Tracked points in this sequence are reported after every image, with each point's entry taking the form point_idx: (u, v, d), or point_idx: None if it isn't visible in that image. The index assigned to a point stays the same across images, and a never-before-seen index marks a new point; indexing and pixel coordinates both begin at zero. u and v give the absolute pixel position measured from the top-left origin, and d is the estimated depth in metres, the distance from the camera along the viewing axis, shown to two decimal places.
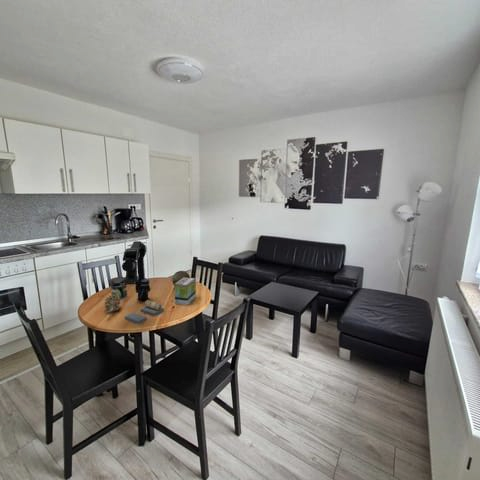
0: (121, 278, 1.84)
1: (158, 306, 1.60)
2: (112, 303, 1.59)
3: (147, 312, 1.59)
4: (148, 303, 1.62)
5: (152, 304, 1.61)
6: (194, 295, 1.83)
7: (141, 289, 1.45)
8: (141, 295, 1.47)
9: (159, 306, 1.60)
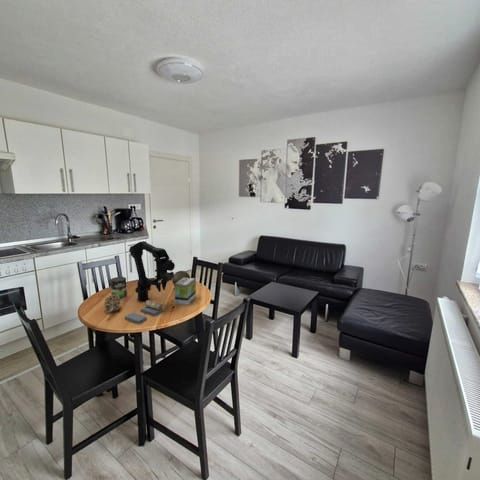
0: (121, 278, 1.84)
1: (159, 305, 1.60)
2: (112, 303, 1.59)
3: (147, 312, 1.59)
4: (149, 302, 1.63)
5: (153, 303, 1.61)
6: (194, 295, 1.83)
7: (166, 283, 1.69)
8: None
9: (159, 306, 1.61)
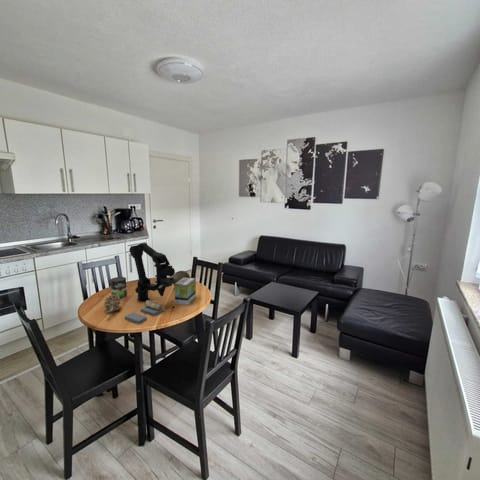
0: (121, 278, 1.84)
1: (158, 305, 1.60)
2: (112, 303, 1.59)
3: (147, 312, 1.59)
4: (148, 303, 1.63)
5: (152, 304, 1.61)
6: (194, 295, 1.83)
7: (164, 289, 1.69)
8: None
9: (159, 306, 1.61)
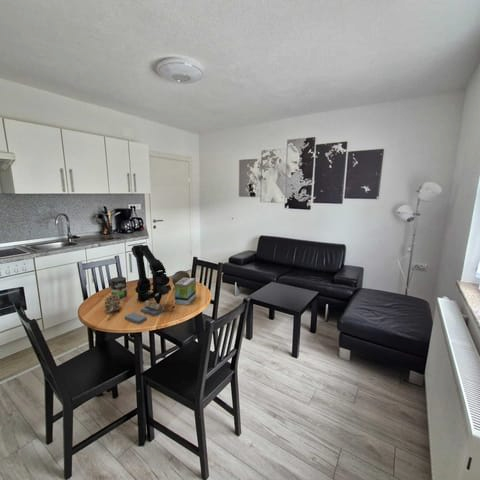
0: (121, 278, 1.84)
1: (158, 306, 1.59)
2: (112, 303, 1.59)
3: (147, 312, 1.59)
4: (148, 304, 1.62)
5: (152, 305, 1.60)
6: (194, 295, 1.83)
7: (160, 297, 1.66)
8: None
9: (159, 306, 1.60)
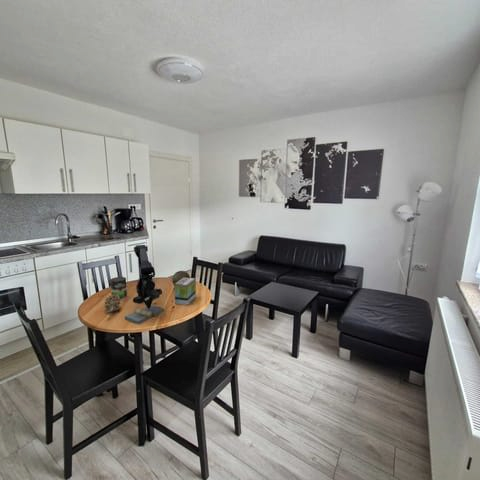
0: (121, 278, 1.84)
1: (150, 313, 1.54)
2: (112, 303, 1.59)
3: None
4: (139, 310, 1.56)
5: (143, 311, 1.55)
6: (194, 295, 1.83)
7: (151, 301, 1.59)
8: None
9: (150, 314, 1.55)
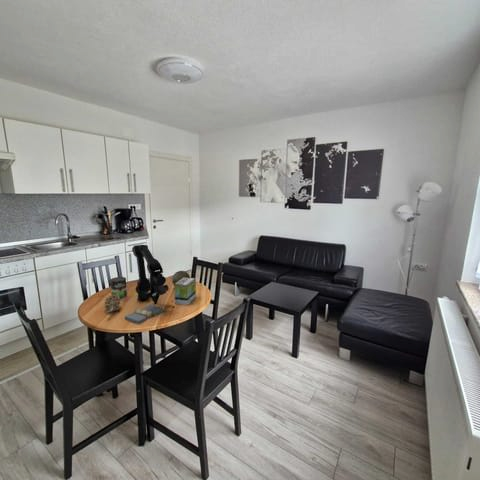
0: (121, 278, 1.84)
1: (150, 313, 1.54)
2: (112, 303, 1.59)
3: None
4: (139, 310, 1.56)
5: (143, 311, 1.55)
6: (194, 295, 1.83)
7: (158, 297, 1.64)
8: None
9: (150, 314, 1.55)
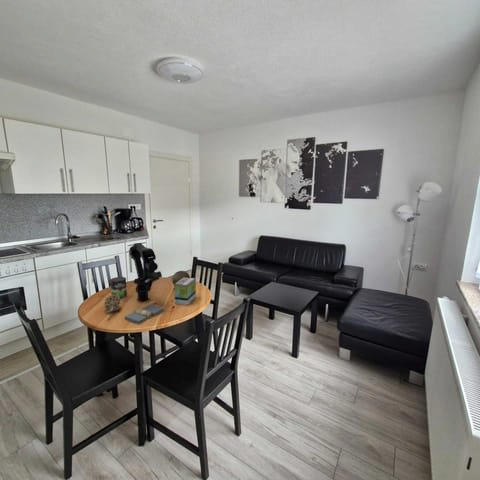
0: (121, 278, 1.84)
1: (149, 313, 1.54)
2: (112, 303, 1.59)
3: None
4: (138, 311, 1.56)
5: (142, 312, 1.54)
6: (194, 295, 1.83)
7: (151, 283, 1.69)
8: None
9: (150, 314, 1.54)
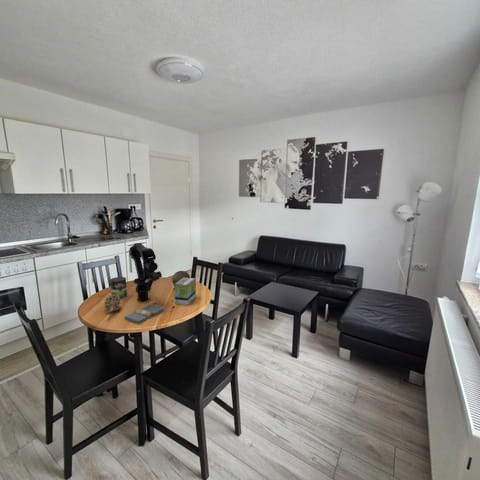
0: (121, 278, 1.84)
1: (149, 313, 1.54)
2: (112, 303, 1.59)
3: None
4: (138, 311, 1.56)
5: (143, 312, 1.54)
6: (194, 295, 1.83)
7: (151, 283, 1.69)
8: None
9: (150, 314, 1.54)
